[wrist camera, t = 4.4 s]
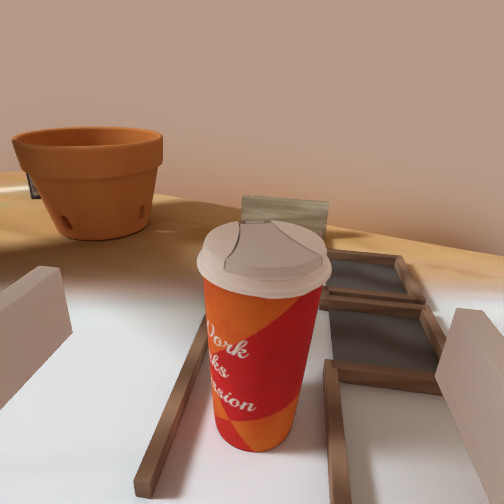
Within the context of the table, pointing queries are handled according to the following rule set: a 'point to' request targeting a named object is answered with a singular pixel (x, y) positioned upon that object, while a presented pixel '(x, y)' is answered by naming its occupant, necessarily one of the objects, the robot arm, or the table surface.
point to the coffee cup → (260, 324)
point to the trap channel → (333, 339)
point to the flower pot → (93, 177)
